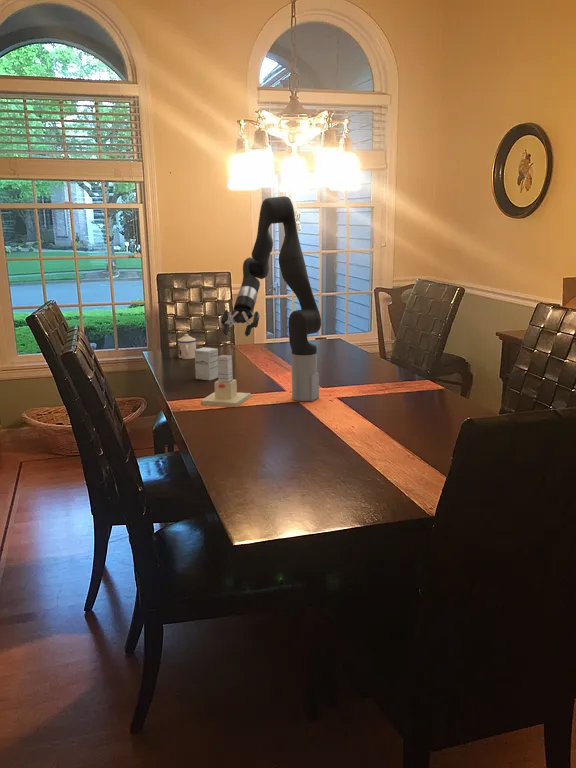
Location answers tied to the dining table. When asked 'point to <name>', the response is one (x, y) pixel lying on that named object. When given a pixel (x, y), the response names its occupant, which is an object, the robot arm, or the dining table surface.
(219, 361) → the column
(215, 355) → the supplement box
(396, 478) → the dining table surface
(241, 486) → the dining table surface
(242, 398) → the stand base
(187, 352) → the teacup with lid
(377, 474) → the dining table surface
